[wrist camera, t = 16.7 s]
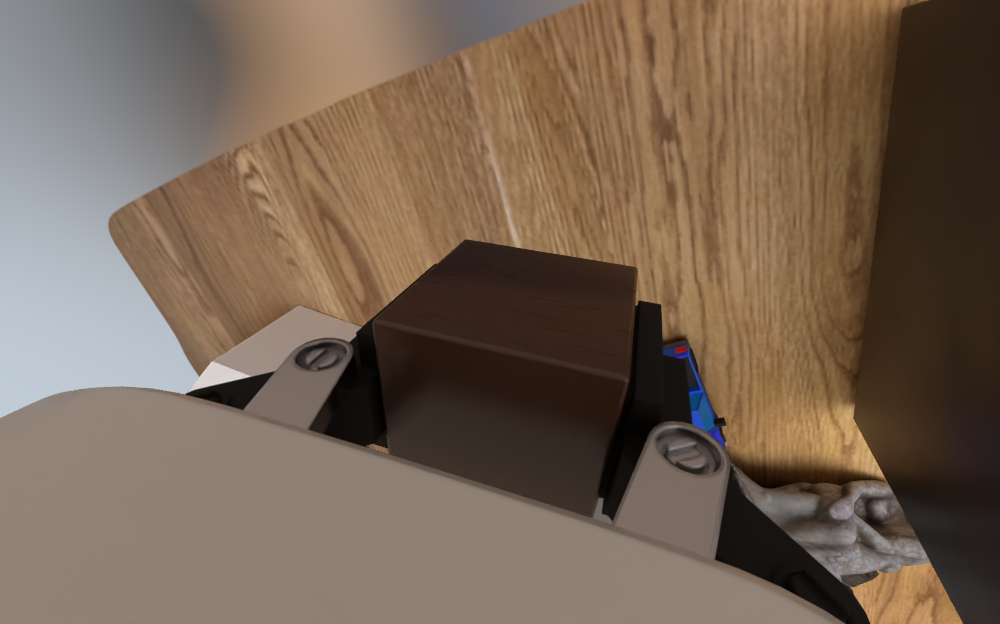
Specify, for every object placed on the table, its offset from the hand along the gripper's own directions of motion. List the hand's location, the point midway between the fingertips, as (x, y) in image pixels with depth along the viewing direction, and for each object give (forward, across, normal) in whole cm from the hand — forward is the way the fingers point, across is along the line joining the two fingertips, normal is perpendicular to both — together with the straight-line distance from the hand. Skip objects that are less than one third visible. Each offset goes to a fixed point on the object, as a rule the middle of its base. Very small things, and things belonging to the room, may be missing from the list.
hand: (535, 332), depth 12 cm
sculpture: (+27, -26, +29) cm, 47 cm away
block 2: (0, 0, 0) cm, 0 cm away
